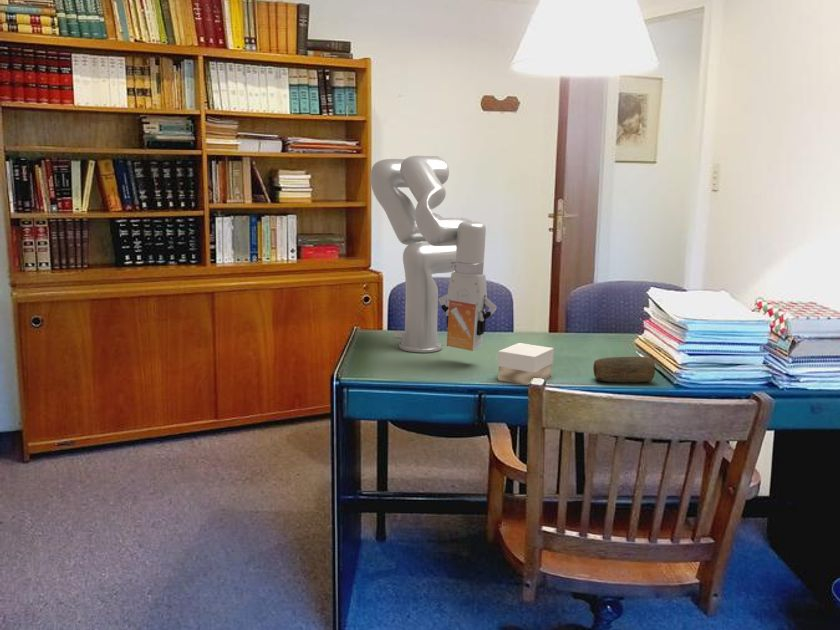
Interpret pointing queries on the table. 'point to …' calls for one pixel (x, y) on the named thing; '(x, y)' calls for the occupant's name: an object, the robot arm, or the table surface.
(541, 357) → the white flat block
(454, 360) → the table surface
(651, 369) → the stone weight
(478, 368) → the table surface
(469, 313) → the small box
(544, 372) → the tower bottom
